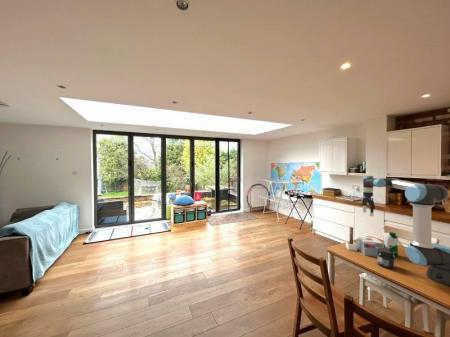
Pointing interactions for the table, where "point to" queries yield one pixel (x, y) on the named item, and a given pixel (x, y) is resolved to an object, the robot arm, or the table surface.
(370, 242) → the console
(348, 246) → the holder
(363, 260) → the table surface
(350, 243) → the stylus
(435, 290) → the table surface
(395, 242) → the milk carton
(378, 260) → the supplement container
